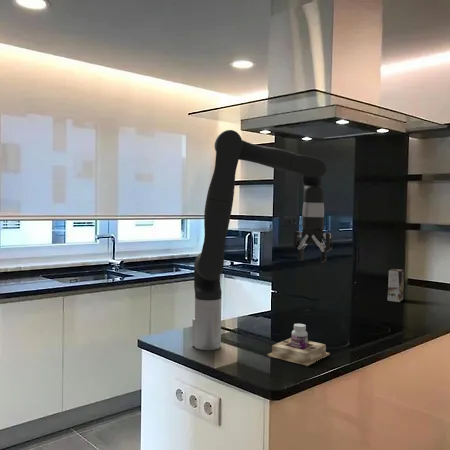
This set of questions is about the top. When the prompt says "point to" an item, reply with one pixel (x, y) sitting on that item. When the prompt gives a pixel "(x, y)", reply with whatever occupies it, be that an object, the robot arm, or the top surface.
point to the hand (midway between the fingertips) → (312, 261)
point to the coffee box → (395, 285)
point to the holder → (299, 352)
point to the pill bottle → (299, 337)
